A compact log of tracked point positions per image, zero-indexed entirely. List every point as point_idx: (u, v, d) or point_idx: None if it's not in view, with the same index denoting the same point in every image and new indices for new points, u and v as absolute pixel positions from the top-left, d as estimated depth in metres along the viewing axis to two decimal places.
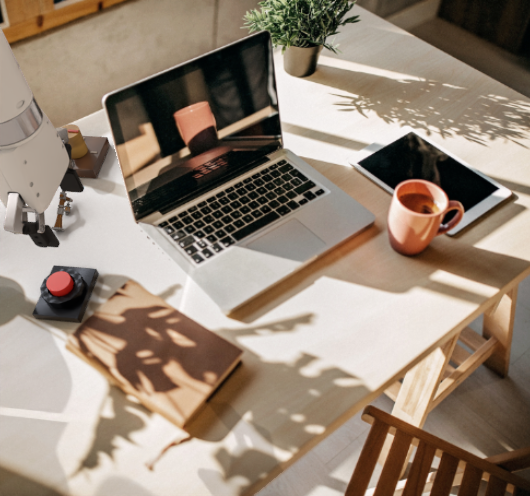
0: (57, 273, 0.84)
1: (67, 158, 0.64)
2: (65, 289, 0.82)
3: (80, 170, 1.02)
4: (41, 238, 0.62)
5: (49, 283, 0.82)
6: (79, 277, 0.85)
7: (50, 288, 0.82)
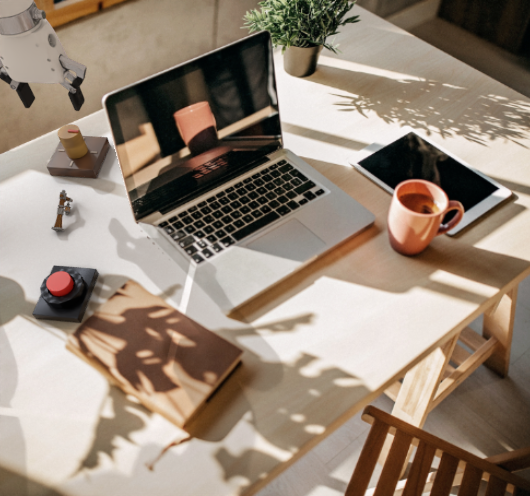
0: (57, 273, 0.84)
1: (57, 79, 0.84)
2: (65, 289, 0.82)
3: (80, 170, 1.02)
4: (17, 92, 0.90)
5: (49, 283, 0.82)
6: (79, 277, 0.85)
7: (50, 288, 0.82)
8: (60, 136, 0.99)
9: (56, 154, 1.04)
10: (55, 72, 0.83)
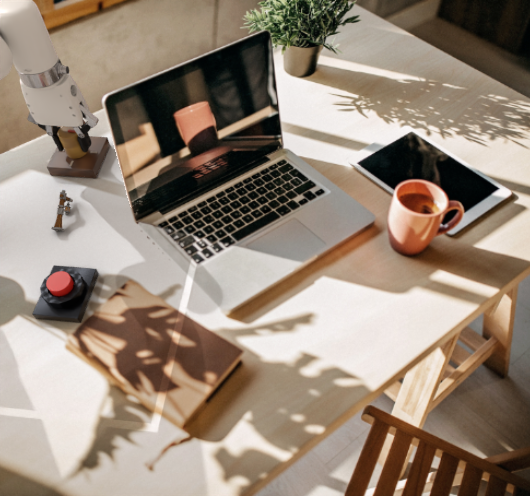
0: (57, 273, 0.84)
1: (77, 123, 0.95)
2: (65, 289, 0.82)
3: (80, 170, 1.02)
4: (53, 137, 1.01)
5: (49, 283, 0.82)
6: (79, 277, 0.85)
7: (50, 288, 0.82)
8: (60, 136, 0.99)
9: (56, 154, 1.04)
10: (76, 117, 0.94)
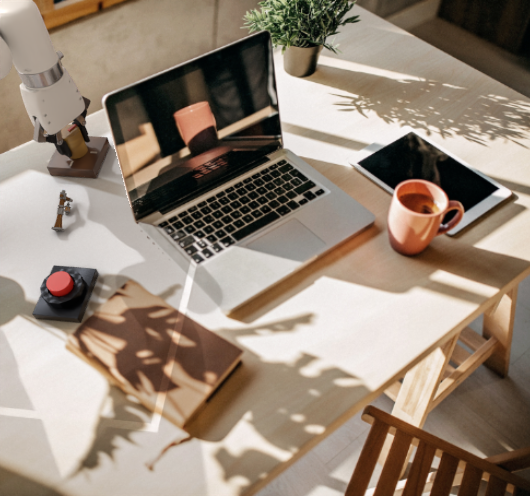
0: (57, 273, 0.84)
1: (83, 107, 0.98)
2: (65, 289, 0.82)
3: (80, 170, 1.02)
4: (59, 148, 0.99)
5: (49, 283, 0.82)
6: (79, 277, 0.85)
7: (50, 288, 0.82)
8: (70, 137, 0.99)
9: (56, 154, 1.04)
10: (81, 100, 0.97)
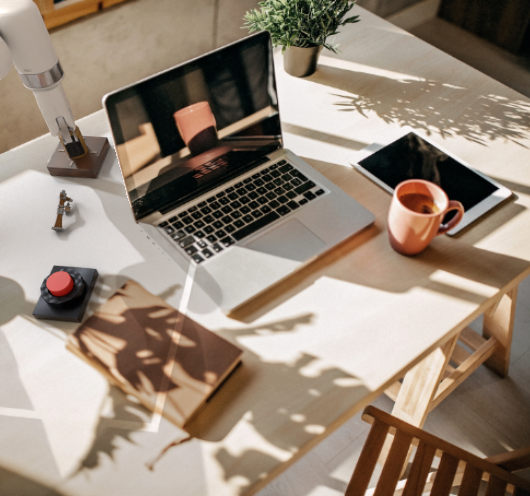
0: (57, 273, 0.84)
1: None
2: (65, 289, 0.82)
3: (80, 170, 1.02)
4: (76, 147, 0.99)
5: (49, 283, 0.82)
6: (79, 277, 0.85)
7: (50, 288, 0.82)
8: (77, 132, 1.00)
9: (56, 154, 1.04)
10: None
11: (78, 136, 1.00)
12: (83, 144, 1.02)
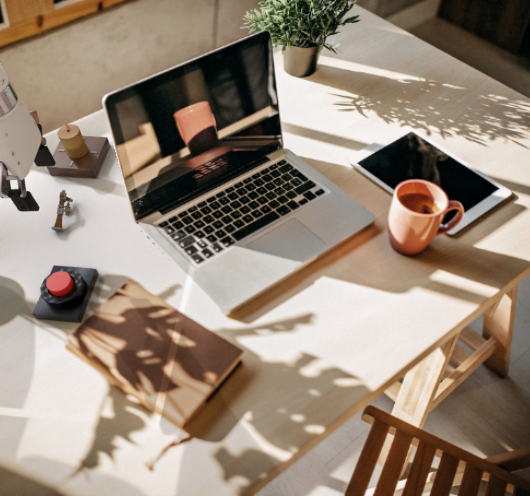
0: (57, 273, 0.84)
1: (39, 135, 0.76)
2: (65, 289, 0.82)
3: (80, 170, 1.02)
4: (24, 202, 0.73)
5: (49, 283, 0.82)
6: (79, 277, 0.85)
7: (50, 288, 0.82)
8: (77, 132, 1.00)
9: (56, 154, 1.04)
10: (36, 126, 0.75)
11: (78, 136, 1.00)
12: (83, 144, 1.02)
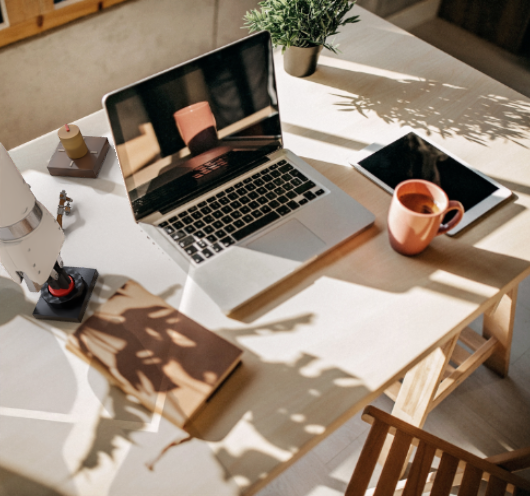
0: None
1: (63, 236, 0.79)
2: (68, 293, 0.83)
3: (80, 170, 1.02)
4: (55, 283, 0.80)
5: None
6: (79, 277, 0.85)
7: (52, 291, 0.83)
8: (77, 132, 1.00)
9: (56, 154, 1.04)
10: (60, 229, 0.78)
11: (78, 136, 1.00)
12: (83, 144, 1.02)
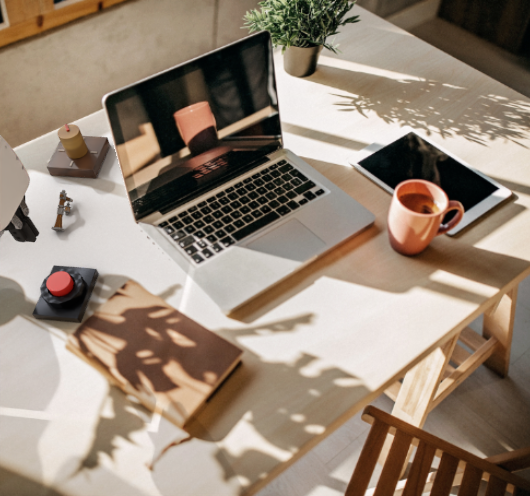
0: (57, 273, 0.84)
1: (28, 178, 0.68)
2: (65, 289, 0.82)
3: (80, 170, 1.02)
4: (19, 234, 0.70)
5: (49, 283, 0.82)
6: (79, 277, 0.85)
7: (50, 288, 0.82)
8: (77, 132, 1.00)
9: (56, 154, 1.04)
10: (24, 169, 0.67)
11: (78, 136, 1.00)
12: (83, 144, 1.02)
